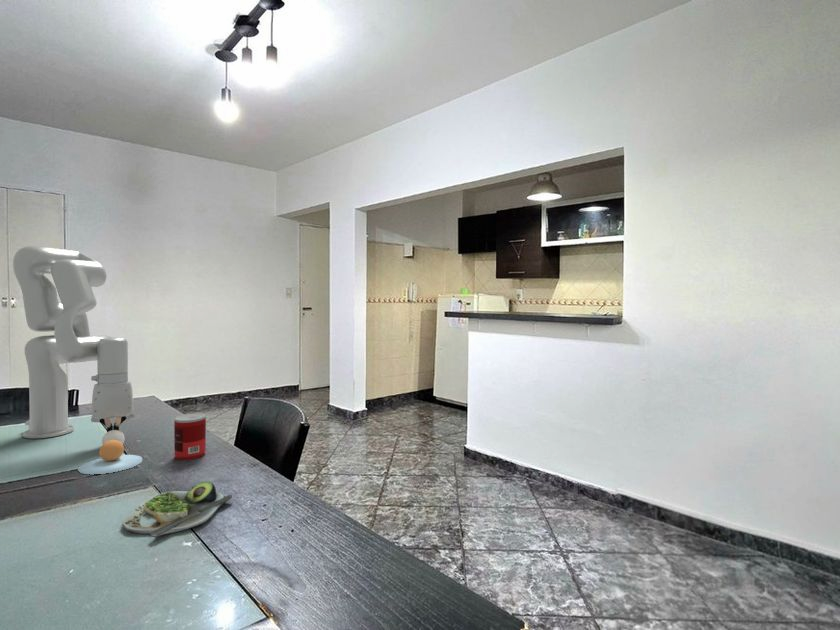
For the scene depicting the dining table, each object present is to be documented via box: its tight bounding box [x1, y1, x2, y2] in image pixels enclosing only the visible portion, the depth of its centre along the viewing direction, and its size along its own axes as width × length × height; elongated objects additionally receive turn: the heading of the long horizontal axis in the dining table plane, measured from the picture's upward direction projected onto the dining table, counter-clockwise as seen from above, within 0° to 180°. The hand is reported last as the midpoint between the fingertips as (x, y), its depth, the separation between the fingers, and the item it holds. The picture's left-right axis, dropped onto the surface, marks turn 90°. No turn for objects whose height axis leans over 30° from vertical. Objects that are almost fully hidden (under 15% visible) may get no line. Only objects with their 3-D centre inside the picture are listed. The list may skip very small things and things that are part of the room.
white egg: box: [101, 429, 126, 445], centre depth 129 cm, size 6×6×6 cm
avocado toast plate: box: [121, 481, 233, 538], centre depth 90 cm, size 19×18×5 cm
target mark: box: [77, 454, 143, 476], centre depth 117 cm, size 14×14×1 cm
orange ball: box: [98, 440, 125, 461], centre depth 120 cm, size 6×6×6 cm
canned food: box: [173, 412, 207, 461], centre depth 125 cm, size 8×8×11 cm
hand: (113, 438), depth 134 cm, fingers closed
